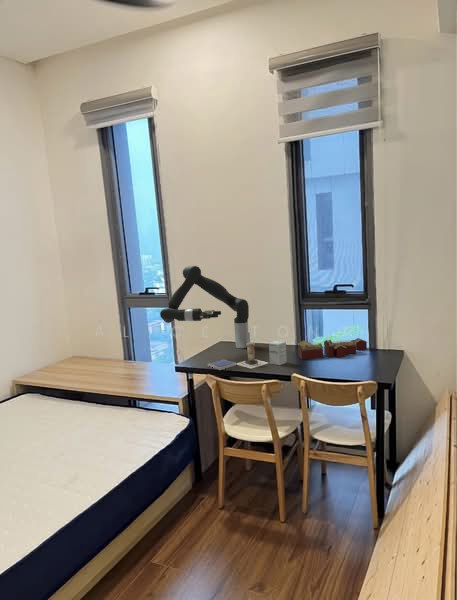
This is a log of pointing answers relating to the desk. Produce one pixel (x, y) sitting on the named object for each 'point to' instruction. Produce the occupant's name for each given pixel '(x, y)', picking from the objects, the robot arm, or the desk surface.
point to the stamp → (251, 354)
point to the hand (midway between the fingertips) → (219, 314)
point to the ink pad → (222, 364)
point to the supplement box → (277, 352)
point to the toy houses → (330, 348)
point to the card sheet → (252, 365)
